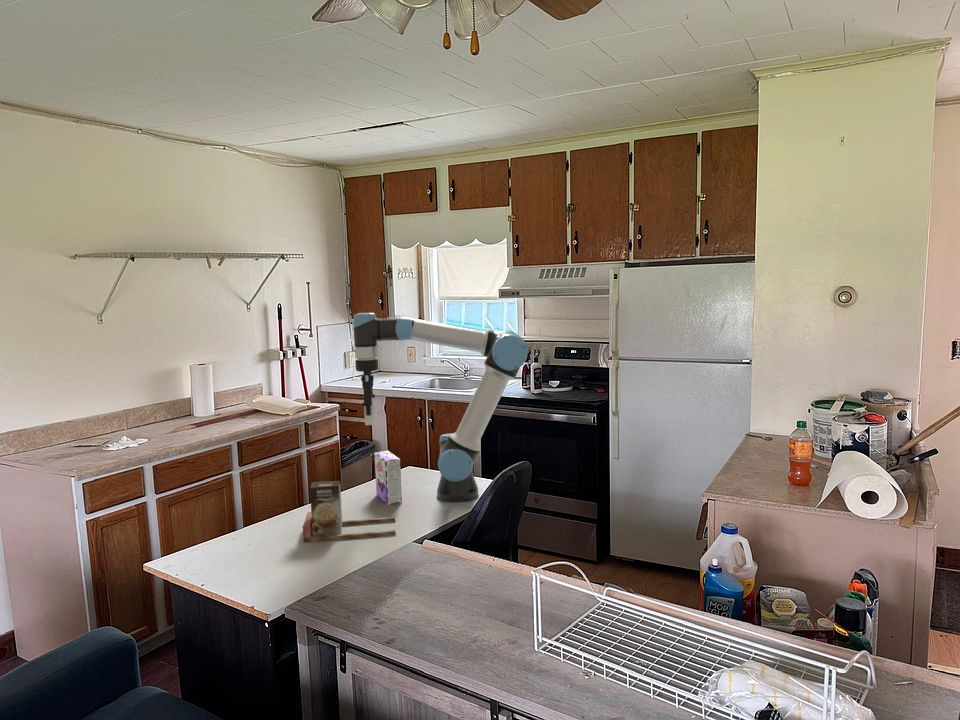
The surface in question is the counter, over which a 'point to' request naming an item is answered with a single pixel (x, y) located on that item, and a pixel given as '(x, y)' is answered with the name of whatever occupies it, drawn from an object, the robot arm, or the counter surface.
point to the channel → (308, 534)
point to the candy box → (388, 477)
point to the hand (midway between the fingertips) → (369, 420)
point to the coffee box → (326, 508)
